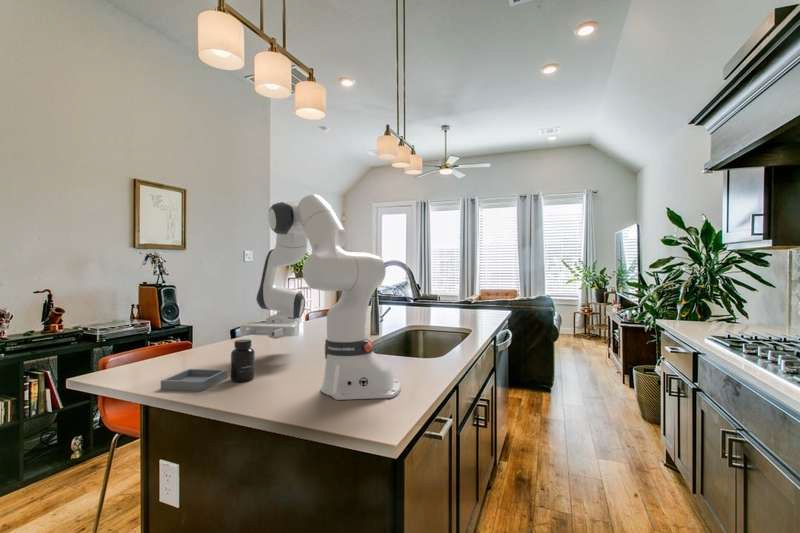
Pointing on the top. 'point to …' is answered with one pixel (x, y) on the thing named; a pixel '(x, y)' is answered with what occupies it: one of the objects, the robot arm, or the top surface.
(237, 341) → the supplement bottle
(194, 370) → the tray
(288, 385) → the top surface
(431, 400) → the top surface
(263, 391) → the top surface
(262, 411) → the top surface
